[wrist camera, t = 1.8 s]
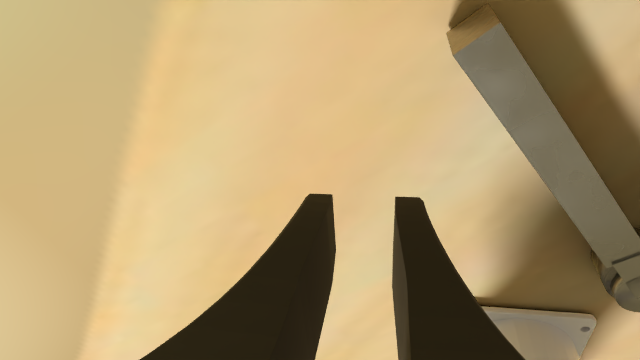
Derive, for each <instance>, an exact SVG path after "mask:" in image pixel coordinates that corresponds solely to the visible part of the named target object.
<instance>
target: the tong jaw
mask: <svg viewBox="0 0 640 360" xmlns="http://www.w3.org/2000/svg"><path fill="white" fill-rule="evenodd" d="M447 37H448V40H449V44H450V47H451V51H452V54H453V56H454V58H455V59H456V61H457V62H458V63H459V65H460V66H461V67H462V69H463V70H464V72H465V73H466V74H467V76H468V77H469V79H470V80H471V81H472V83H473V84H474V85H475V87H476V88H477V90H478V91H479V92H480V94H481V95H482V97H483V98H484V99H485V101H486V102H487V104H488V105H489V106H490V108H491V109H492V110H493V112H494V113H495V115H496V116H497V117H498V119H499V120H500V122H501V123H502V124H503V126H504V127H505V128H506V130H507V131H508V133H509V134H510V135H511V137H512V138H513V140H514V141H515V142H516V144H517V145H518V146H519V148H520V149H521V151H522V152H523V153H524V155H525V156H526V158H527V159H528V160H529V162H530V163H531V164H532V166H533V167H534V169H535V170H536V171H537V173H538V174H539V176H540V177H541V178H542V180H543V181H544V182H545V184H546V185H547V187H548V188H549V189H550V191H551V192H552V194H553V195H554V196H555V198H556V199H557V200H558V202H559V203H560V205H561V206H562V207H563V209H564V210H565V212H566V213H567V214H568V216H569V217H570V218H571V220H572V221H573V223H574V224H575V225H576V227H577V228H578V230H579V231H580V232H581V234H582V235H583V236H584V238H585V239H586V241H587V242H588V243H589V245H590V246H591V248H592V249H593V250H594V252H595V253H596V254H597V256H598V257H599V259H600V260H601V261H602V263H603V264H604V266H605V267H606V268H609V267H612V266H614V268H615V269H616V271H617V272H618V273H617V274H616V275H615V276H614V277H613V278H612V280H611V283H610V288H611V291H612V293H613V295H614V297H615V299H616V301H617V303H618V304H619V305H620V306H621V307H622V308H624V309H627V310H629V311H634V312H640V238H639V236H638V235H637V233H636V232H635V230H634V228H633V227H632V225H631V224H630V222H629V221H628V219H627V218H626V216H625V214H624V213H623V211H622V210H621V208H620V207H619V205H618V204H617V202H616V200H615V199H614V197H613V196H612V194H611V193H610V191H609V190H608V188H607V187H606V185H605V183H604V182H603V180H602V179H601V177H600V176H599V174H598V173H597V171H596V169H595V168H594V166H593V165H592V163H591V162H590V160H589V159H588V157H587V156H586V154H585V152H584V151H583V149H582V148H581V146H580V145H579V143H578V142H577V140H576V138H575V137H574V135H573V134H572V132H571V131H570V129H569V128H568V126H567V125H566V123H565V121H564V120H563V118H562V117H561V115H560V114H559V112H558V111H557V109H556V107H555V106H554V104H553V103H552V101H551V100H550V98H549V97H548V95H547V94H546V92H545V90H544V89H543V87H542V86H541V84H540V83H539V81H538V80H537V78H536V76H535V75H534V73H533V72H532V70H531V69H530V67H529V66H528V64H527V63H526V61H525V59H524V58H523V56H522V55H521V53H520V52H519V50H518V49H517V47H516V45H515V44H514V42H513V41H512V39H511V38H510V36H509V35H508V33H507V32H506V30H505V28H504V27H503V25H502V24H501V22H500V21H499V19H498V18H497V16H496V14H495V13H494V11H493V10H492V8H491V7H490V5H489V4H488V3H487V4H486V5H484V6H483V7H482V8H480V9H479V10H477V11H476V12H475V13H473V14H472V15H471V16H469V17H468V18H466V19H465V20H464V21H462V22H461V23H460V24H458V25H457V26H455V27H454V28H453V29H451V30H450V31H449V32H447Z"/></svg>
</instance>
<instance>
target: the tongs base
mask: <svg viewBox="0 0 640 360" xmlns="http://www.w3.org/2000/svg"><path fill="white" fill-rule="evenodd" d="M634 230H635V232H636V233H637V235H638V236H639V238H640V229H637V228H634ZM591 260H592V262H593V264H594V266H595V268H596V270H597V272H598V274H599V276H600V278H601V280H602V283H603V285H604V287H605V289H606V291H607V292H608V293H609V294H610V295H611V296H613V297H614V295H613V293H612V291H611V288H610V283H611V280H612V278H613V277H614V276H615V275H616V274H617V273H618V272H617V271H616V269H615V268H614V266H612V267H609V268H606V267H605V266H604V264H603V263H602V261H601V260H600V259H599V257H598V256H597V254H596V253H595V252H594V250H593V249H592V250H591ZM614 298H615V297H614Z"/></svg>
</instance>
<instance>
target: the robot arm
mask: <svg viewBox="0 0 640 360" xmlns="http://www.w3.org/2000/svg"><path fill="white" fill-rule="evenodd" d="M335 253H336V244H335V228H334V213H333V197H332V195H331V194H309V195H308V196H307V197H306V198H305V200H304V201H303V203H302V204H301V206H300V207H299V209H298V210H297V212H296V213H295V214H294V216H293V217H292V219H291V220H290V221H289V223H288V224H287V225H286V227H285V228H284V229H283V231H282V232H281V233H280V234H279V236H278V237H277V238H276V240H275V241H274V242H273V243H272V245H271V246H270V247H269V248H268V249H267V251H266V252H265V253H264V254H263V255H262V256H261V257H260V258H259V260H258V261H257V262H256V263H255V264H254V265H253V266H252V267H251V269H250V270H249V271H248V272H247V273H246V274H245V275H244V276H243V277H242V278H241V279H240V280H239V281H238V282H237V283H236V284H235V285H234V286H233V287H232V288H231V289H230V290H229V291H228V292H227V293H226V294H224V295H223V296H222V297H221V298H220V299H219V300H218V301H217V302H215V303H214V304H213V305H212V306H211V307H210V308H208V309H207V310H206V311H205V312H204V313H203V314H202V315H200V316H199V317H198V318H197V319H195V320H194V321H193V322H192V323H190V324H189V325H188V326H187V327H185V328H184V329H182V330H181V331H180V332H178V333H177V334H176V335H174V336H173V337H171V338H170V339H169V340H167V341H166V342H165V343H163V344H162V345H160V346H159V347H158V348H156V349H155V350H153V351H152V352H150V353H149V354H148V355H146V356H144V357H143V358H141V359H140V360H315V356H316V352H317V348H318V343H319V339H320V335H321V330H322V326H323V322H324V317H325V313H326V309H327V304H328V300H329V295H330V291H331V286H332V281H333V272H334V263H335ZM392 289H393V301H394V313H395V325H396V336H397V348H398V359H399V360H580V359H579V358H580V356H581V354H582V352H583V350H584V348H585V346H586V344H587V342H588V340H589V338H590V336H591V334H592V332H593V330H594V328H595V326H596V324H597V321H596V319H595V317H594V316H593V315H591V314H583V313H569V312H555V311H541V310H527V309H513V308H499V307H485V306H480V305H479V303H478V302H477V300H476V299H475V298H474V296H473V295H472V293H471V292H470V290H469V289H468V287H467V286H466V284H465V283H464V281H463V280H462V278H461V277H460V275H459V274H458V272H457V270H456V269H455V267H454V265H453V264H452V262H451V260H450V258H449V257H448V255H447V253H446V251H445V249H444V248H443V246H442V244H441V242H440V240H439V238H438V236H437V234H436V232H435V230H434V228H433V226H432V224H431V221H430V219H429V216H428V214H427V211H426V208H425V205H424V202H423V201H422V200H421V199H420V198H417V197H395V218H394V241H393V278H392Z"/></svg>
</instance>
